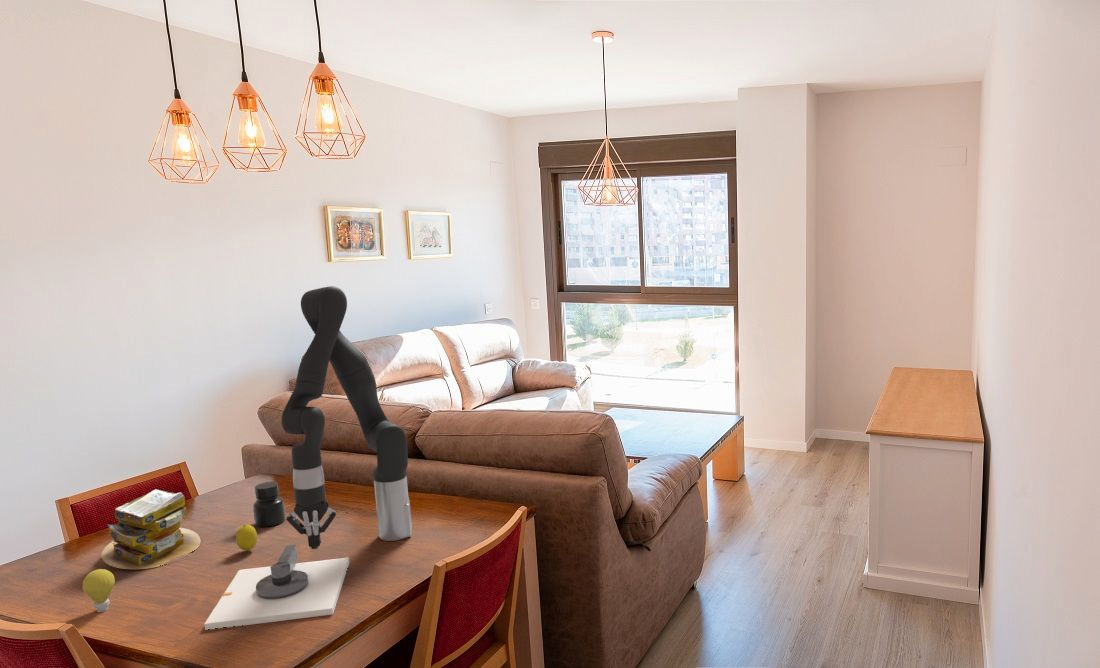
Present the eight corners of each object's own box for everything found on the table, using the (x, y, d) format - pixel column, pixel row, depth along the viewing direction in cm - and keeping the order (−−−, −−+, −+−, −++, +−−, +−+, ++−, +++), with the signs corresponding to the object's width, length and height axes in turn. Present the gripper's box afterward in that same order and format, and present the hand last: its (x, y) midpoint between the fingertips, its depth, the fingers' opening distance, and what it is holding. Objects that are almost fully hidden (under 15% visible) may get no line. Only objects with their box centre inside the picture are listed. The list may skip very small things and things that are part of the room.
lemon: (251, 555, 206) (248, 528, 205) (233, 555, 207) (230, 527, 206) (262, 547, 211) (259, 520, 210) (245, 547, 212) (242, 520, 211)
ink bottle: (279, 514, 237) (275, 478, 236) (291, 520, 231) (287, 483, 230) (249, 523, 231) (244, 486, 229) (261, 530, 224) (256, 492, 223)
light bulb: (95, 604, 182) (89, 565, 181) (123, 601, 183) (118, 563, 182) (80, 617, 176) (74, 578, 174) (110, 615, 176) (104, 575, 175)
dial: (303, 595, 176) (300, 573, 176) (250, 601, 175) (248, 579, 174) (316, 562, 194) (314, 542, 194) (269, 568, 193) (267, 547, 192)
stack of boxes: (217, 545, 216) (210, 489, 213) (129, 579, 195) (121, 519, 193) (172, 530, 230) (166, 478, 228) (86, 561, 210) (78, 504, 207)
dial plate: (349, 562, 197) (348, 556, 197) (333, 614, 170) (332, 607, 169) (239, 575, 194) (239, 569, 193) (205, 630, 166) (204, 623, 166)
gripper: (337, 476, 194) (343, 539, 196) (285, 480, 192) (292, 544, 195) (333, 485, 187) (338, 551, 189) (278, 490, 185) (285, 556, 187)
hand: (315, 547), depth 192 cm, fingers closed
